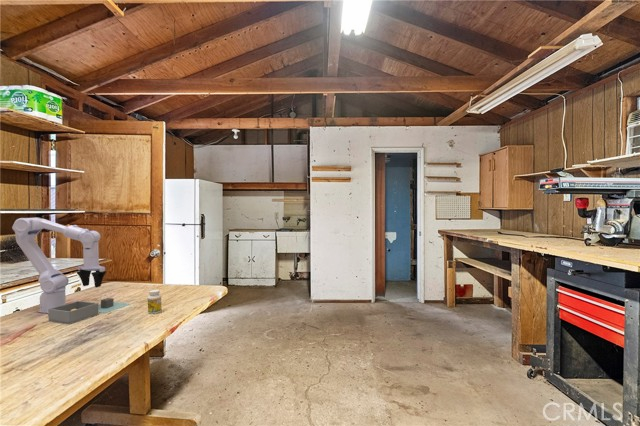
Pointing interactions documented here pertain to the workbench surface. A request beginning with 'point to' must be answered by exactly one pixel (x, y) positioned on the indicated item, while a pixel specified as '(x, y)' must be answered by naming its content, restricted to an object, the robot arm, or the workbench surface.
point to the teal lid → (109, 305)
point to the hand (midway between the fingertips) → (92, 286)
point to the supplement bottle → (154, 302)
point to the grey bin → (73, 312)
